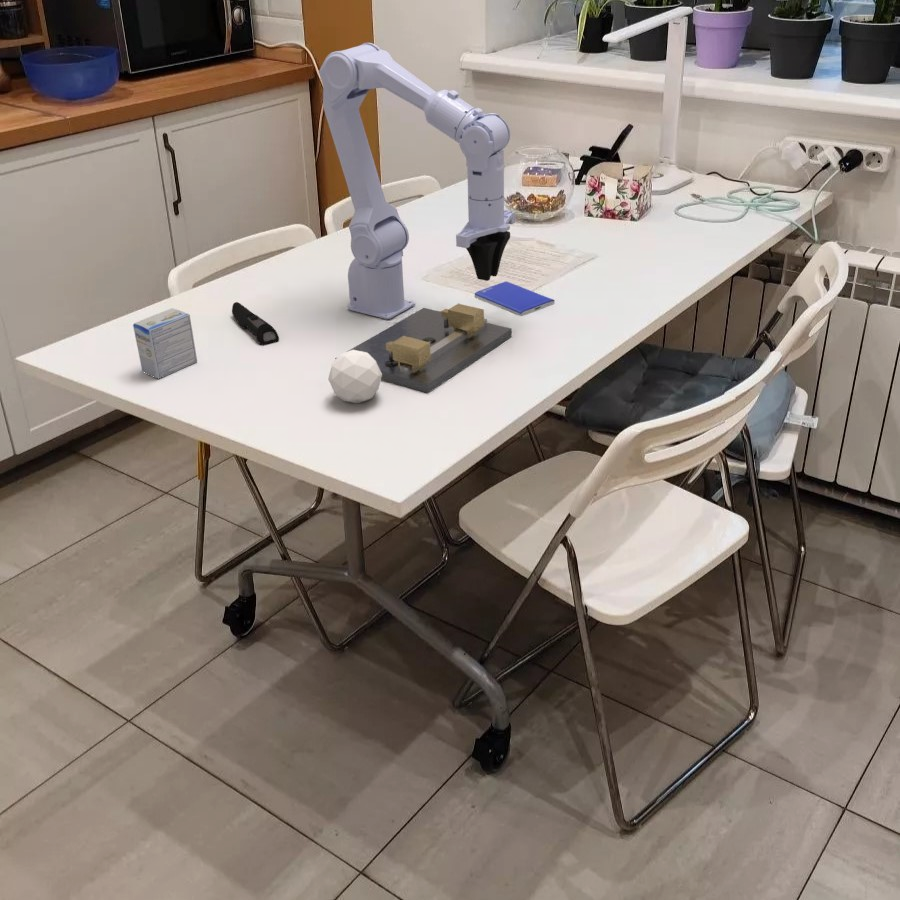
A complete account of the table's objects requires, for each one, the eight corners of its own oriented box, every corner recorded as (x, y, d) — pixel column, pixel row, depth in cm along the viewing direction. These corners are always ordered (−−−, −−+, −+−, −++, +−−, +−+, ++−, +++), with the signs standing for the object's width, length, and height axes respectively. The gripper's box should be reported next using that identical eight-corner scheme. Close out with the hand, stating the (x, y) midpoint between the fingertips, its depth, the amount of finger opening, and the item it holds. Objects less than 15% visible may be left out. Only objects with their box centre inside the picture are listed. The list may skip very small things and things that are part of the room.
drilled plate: (336, 366, 166) (332, 332, 163) (424, 315, 182) (422, 283, 179) (427, 393, 156) (426, 356, 153) (511, 336, 173) (511, 303, 170)
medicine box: (181, 356, 171) (172, 306, 167) (198, 362, 169) (190, 313, 164) (141, 373, 166) (131, 322, 162) (158, 380, 164) (149, 329, 159)
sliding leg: (438, 330, 172) (437, 307, 170) (449, 324, 174) (448, 301, 172) (474, 339, 168) (473, 315, 166) (484, 332, 170) (483, 309, 168)
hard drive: (474, 292, 189) (521, 311, 180) (507, 280, 193) (554, 298, 185) (474, 300, 189) (521, 319, 181) (507, 288, 194) (554, 306, 186)
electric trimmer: (248, 314, 187) (245, 298, 185) (281, 342, 175) (279, 325, 174) (228, 319, 185) (225, 303, 184) (260, 347, 174) (258, 330, 172)
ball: (344, 416, 157) (312, 373, 155) (384, 384, 159) (352, 342, 158) (357, 412, 150) (324, 368, 148) (399, 379, 152) (366, 335, 151)
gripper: (482, 211, 158) (483, 295, 164) (531, 187, 168) (530, 267, 175) (443, 205, 161) (447, 287, 168) (494, 181, 171) (495, 260, 178)
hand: (487, 277), depth 171 cm, fingers closed
